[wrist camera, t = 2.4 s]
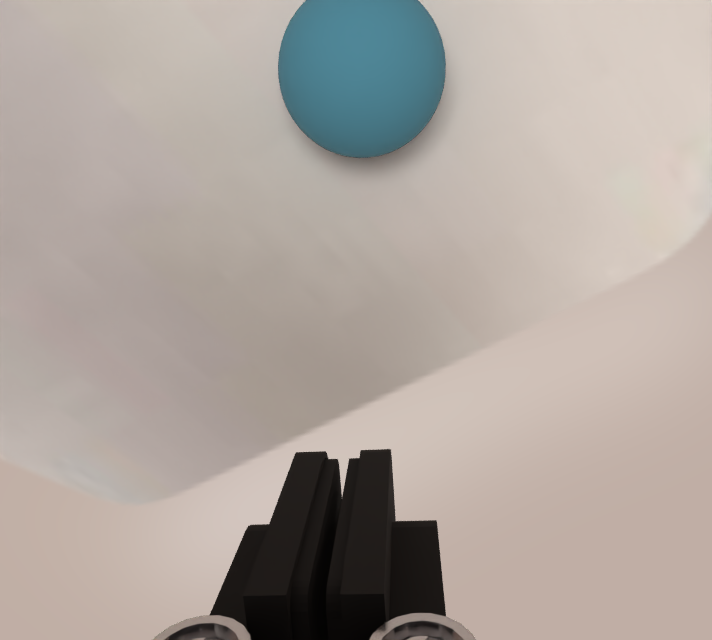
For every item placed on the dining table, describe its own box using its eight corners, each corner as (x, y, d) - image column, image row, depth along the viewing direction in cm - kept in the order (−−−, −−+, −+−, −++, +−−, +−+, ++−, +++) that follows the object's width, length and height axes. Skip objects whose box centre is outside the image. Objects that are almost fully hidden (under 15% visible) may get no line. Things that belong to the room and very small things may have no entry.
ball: (322, 178, 27) (300, 182, 21) (272, 34, 25) (233, -4, 20) (458, 129, 26) (475, 119, 20) (414, -22, 25) (418, -80, 19)
